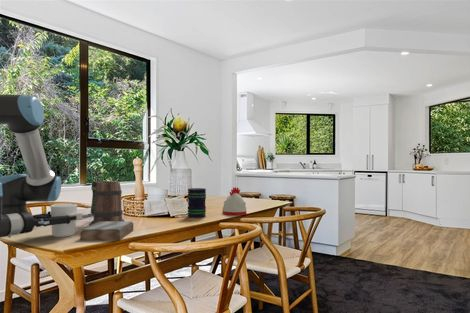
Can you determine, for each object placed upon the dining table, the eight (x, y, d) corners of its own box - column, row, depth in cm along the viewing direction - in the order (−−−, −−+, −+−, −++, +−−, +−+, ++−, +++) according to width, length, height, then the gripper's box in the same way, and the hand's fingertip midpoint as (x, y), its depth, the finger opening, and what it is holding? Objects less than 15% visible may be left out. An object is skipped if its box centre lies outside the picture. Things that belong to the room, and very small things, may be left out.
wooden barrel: (94, 215, 192) (94, 181, 192) (89, 213, 197) (89, 180, 198) (111, 213, 198) (112, 180, 198) (105, 212, 204) (106, 180, 204)
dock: (80, 239, 133) (80, 229, 133) (98, 230, 151) (98, 221, 151) (120, 240, 133) (120, 229, 133) (133, 230, 151) (133, 221, 151)
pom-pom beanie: (251, 213, 204) (251, 187, 204) (235, 216, 194) (235, 188, 194) (234, 210, 213) (234, 186, 213) (217, 213, 203) (217, 187, 203)
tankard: (132, 225, 164) (133, 182, 164) (96, 229, 152) (96, 183, 153) (112, 218, 181) (113, 180, 181) (78, 222, 170) (79, 181, 170)
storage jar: (184, 217, 187) (184, 189, 187) (191, 214, 196) (191, 188, 197) (202, 218, 184) (202, 189, 185) (208, 215, 194) (208, 188, 194)
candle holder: (66, 237, 136) (66, 206, 136) (44, 236, 138) (44, 206, 138) (82, 232, 146) (82, 203, 146) (61, 231, 148) (61, 203, 148)
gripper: (1, 230, 132) (57, 221, 151) (36, 237, 121) (91, 227, 141) (1, 210, 132) (57, 204, 151) (36, 215, 121) (91, 208, 141)
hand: (73, 215), depth 146 cm, fingers closed on candle holder, 9 cm apart
